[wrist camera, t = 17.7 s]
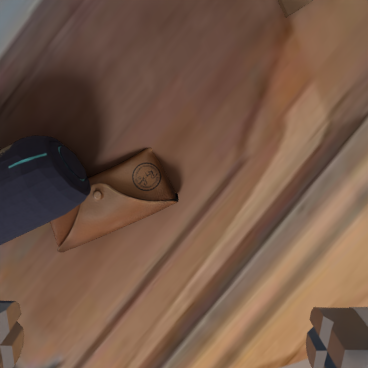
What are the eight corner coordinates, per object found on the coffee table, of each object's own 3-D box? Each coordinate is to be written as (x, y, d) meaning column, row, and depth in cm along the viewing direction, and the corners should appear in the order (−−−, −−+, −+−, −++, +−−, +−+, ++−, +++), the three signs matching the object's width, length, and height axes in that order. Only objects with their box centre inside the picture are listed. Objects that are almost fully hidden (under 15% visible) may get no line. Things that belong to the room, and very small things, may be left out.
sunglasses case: (151, 141, 41) (160, 176, 37) (172, 175, 47) (182, 209, 42) (33, 197, 43) (28, 237, 39) (65, 224, 48) (64, 261, 44)
